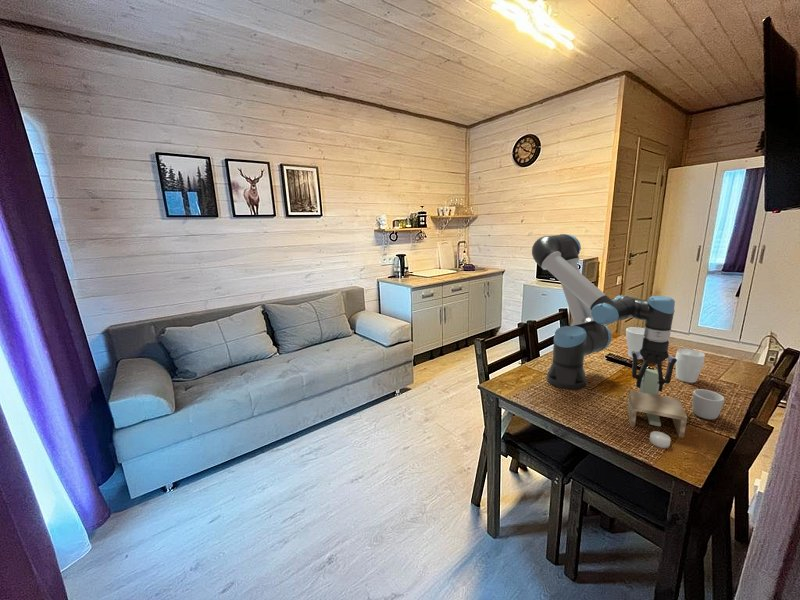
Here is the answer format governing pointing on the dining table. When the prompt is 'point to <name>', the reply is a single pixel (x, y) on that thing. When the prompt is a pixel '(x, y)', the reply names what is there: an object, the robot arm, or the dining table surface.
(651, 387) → the sage green mallet
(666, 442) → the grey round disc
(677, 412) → the beige arch
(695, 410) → the cup
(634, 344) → the cup
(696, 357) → the cup
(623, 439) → the dining table surface
